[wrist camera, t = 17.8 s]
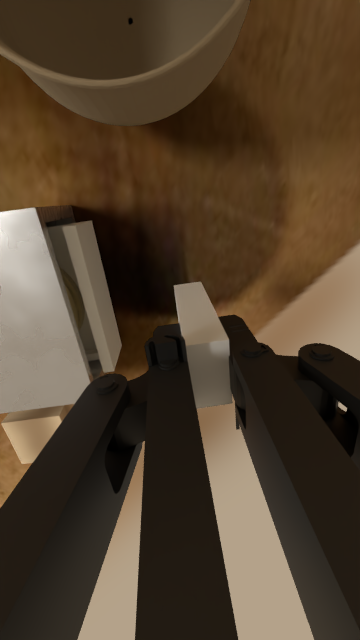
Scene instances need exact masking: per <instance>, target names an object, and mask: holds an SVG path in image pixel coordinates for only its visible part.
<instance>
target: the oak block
mask: <svg viewBox="0 0 360 640" xmlns="http://www.w3.org/2000/svg"><path fill="white" fill-rule="evenodd" d="M73 405H74V404H69V405H62V406H54V407H46V408H39V409H31V410H23V411H16V412H9V413H8V415H7V416H6V417H5V419H4V420H3V422H2V423H1V424H2V426H3V428H4V430H5V432H6V434H7V436H8V438H9V439H10V441H11V443H12V445H13V447H14V449H15V451H16V453H17V455H18V457H19V459H20V461H21V463H22V464H26V463H33V462H34V460H35V459H36V458H37V456H38V455H39V453H40V452H41V451H42V449H43V448H44V446H45V445H46V444H47V442H48V441H49V439H50V438H51V436H52V435H53V434H54V432H55V431H56V429H57V428H58V427H59V425H60V424H61V422H62V421H63V420H64V418H65V417H66V415H67V414H68V413H69V411H70V410H71V408H72V407H73Z"/></svg>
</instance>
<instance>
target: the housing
mask: <svg viewBox="0 0 360 640" xmlns="http://www.w3.org/2000/svg"><path fill="white" fill-rule="evenodd" d="M71 223H76V222H75V218H74V214H73V211H72V207H71V205H66V206H50V207H35V208H27V209H20V210H13V211H5V212H0V413H8V412H16V411H23V410H31V409H39V408H46V407H54V406H62V405H69V404H75V403H76V401H77V400H78V398H79V397H80V396H81V394H82V393H83V391H84V390H85V389H86V387H87V386H88V385H89V384H90V383H91V382H92V381H93V380H95V379H97V378H98V377H101V376H104V375H105V374H106V372H105V373H104V372H103V369H102V365H101V362H100V359H98V360H90V361H88V360H87V357H86V353H85V350H84V347H83V344H82V340H81V337H80V334H79V331H78V327H77V324H76V321H75V318H74V314H73V311H72V308H71V305H70V301H69V298H68V295H67V292H66V288H65V285H64V282H63V279H62V275H61V272H60V269H59V266H58V262H57V259H56V256H55V253H54V249H53V246H52V243H51V240H50V236H49V233H48V230H47V227H49V226H57V225H64V224H71Z"/></svg>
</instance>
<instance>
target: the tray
mask: <svg viewBox="0 0 360 640" xmlns="http://www.w3.org/2000/svg"><path fill="white" fill-rule="evenodd" d="M47 230H48V233H49V236H50V240H51V243H52V246H53V249H54V253H55V256H56V259H57V262H58V266H59V267H61V268H62V269H63V270H64V271H65V272H66V273H67V274H68V275H69V276H70V277H71V278H72V279H73V281H74V282H75V283H76V285H77V287H78V288H79V290H80V293H81V295H82V298H83V302H84V308H85V314H84V321H83V324H82V327H81V329H80V330H79V334H80V337H81V340H82V344H83V347H84V350H85V353H86V357H87V360H88V361H90V360H98V359H100V362H101V365H102V369H103V372H104V373H105V372H113V371H114V370H115V367H116V363H117V360H118V357H119V353H120V350H121V347H122V344H121V340H120V336H119V332H118V327H117V323H116V319H115V315H114V311H113V307H112V302H111V298H110V294H109V290H108V286H107V282H106V278H105V273H104V269H103V265H102V261H101V257H100V253H99V249H98V244H97V240H96V236H95V232H94V228H93V224H92V220H91V221H84V222H79V223H71V224H64V225H57V226H49V227H47Z"/></svg>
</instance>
